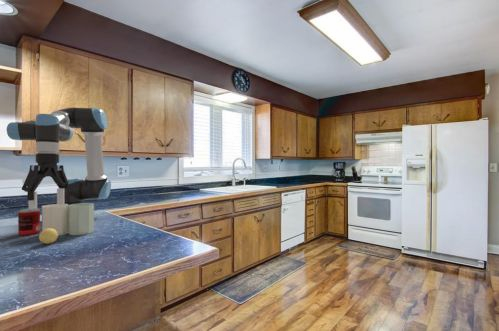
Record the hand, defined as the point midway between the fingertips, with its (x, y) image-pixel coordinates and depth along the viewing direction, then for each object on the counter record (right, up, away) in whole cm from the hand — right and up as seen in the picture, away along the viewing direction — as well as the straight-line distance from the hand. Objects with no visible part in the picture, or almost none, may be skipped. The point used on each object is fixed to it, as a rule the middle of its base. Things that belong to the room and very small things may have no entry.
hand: (47, 206), depth 106 cm
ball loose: (0, -12, 0) cm, 12 cm away
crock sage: (+3, -15, +17) cm, 23 cm away
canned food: (-20, -15, +15) cm, 29 cm away
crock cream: (-8, -15, +15) cm, 22 cm away
